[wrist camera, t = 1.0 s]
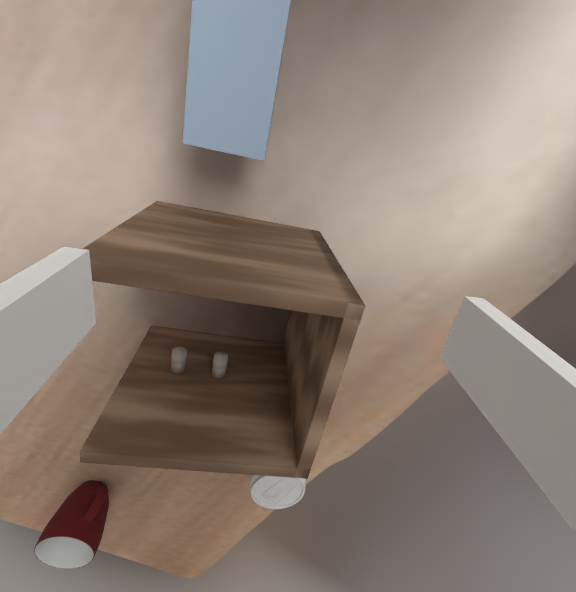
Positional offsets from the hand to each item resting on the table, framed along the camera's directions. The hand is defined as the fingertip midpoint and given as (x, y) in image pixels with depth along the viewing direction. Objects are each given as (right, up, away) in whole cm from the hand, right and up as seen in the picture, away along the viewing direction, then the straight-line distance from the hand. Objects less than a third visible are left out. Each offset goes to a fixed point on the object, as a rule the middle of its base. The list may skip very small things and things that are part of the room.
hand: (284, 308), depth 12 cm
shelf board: (-4, +20, +17) cm, 26 cm away
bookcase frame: (-7, +2, +32) cm, 32 cm away
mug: (-32, -31, +45) cm, 64 cm away
